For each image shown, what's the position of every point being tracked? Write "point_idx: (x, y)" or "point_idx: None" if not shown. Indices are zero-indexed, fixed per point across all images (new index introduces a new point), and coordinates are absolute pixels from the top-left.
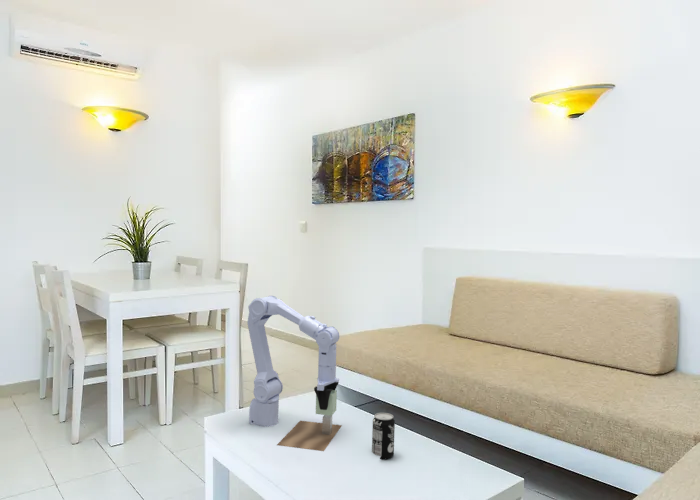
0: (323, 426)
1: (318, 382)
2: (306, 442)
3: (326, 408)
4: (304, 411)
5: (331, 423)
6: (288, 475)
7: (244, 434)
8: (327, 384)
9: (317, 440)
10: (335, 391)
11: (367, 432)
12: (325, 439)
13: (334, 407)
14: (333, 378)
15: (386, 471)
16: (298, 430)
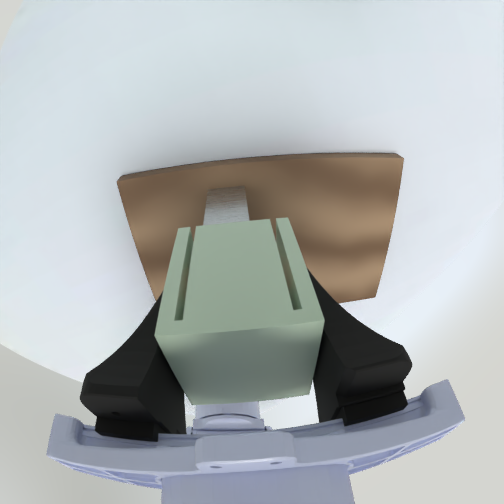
0: None
1: (400, 456)
2: (346, 236)
3: (309, 272)
4: (79, 330)
5: (219, 207)
6: (489, 206)
7: None
8: (404, 426)
9: (319, 209)
10: (193, 335)
11: (106, 63)
12: (300, 184)
13: (224, 242)
14: (302, 486)
15: None
16: None
